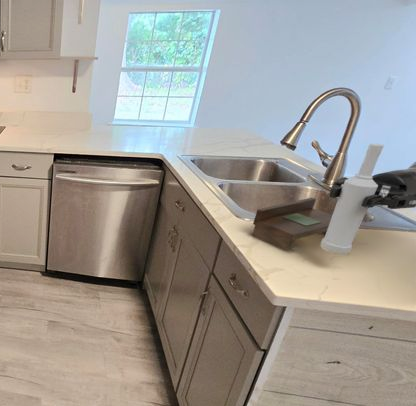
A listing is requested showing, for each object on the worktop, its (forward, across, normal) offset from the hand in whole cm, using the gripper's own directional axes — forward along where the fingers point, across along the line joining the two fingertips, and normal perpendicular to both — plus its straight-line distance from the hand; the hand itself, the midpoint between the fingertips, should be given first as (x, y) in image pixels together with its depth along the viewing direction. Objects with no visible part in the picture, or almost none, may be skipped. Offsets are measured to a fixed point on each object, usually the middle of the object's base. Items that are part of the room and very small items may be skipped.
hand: (348, 197), depth 79 cm
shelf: (-12, -13, +18) cm, 26 cm away
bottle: (-3, 0, +14) cm, 14 cm away
